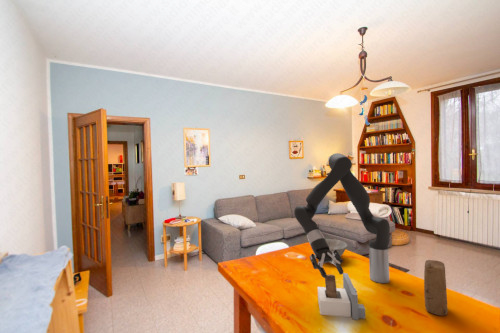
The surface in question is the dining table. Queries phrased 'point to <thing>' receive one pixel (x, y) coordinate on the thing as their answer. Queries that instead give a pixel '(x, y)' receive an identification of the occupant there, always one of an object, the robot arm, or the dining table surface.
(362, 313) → the backstop
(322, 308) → the socket
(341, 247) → the ceramic bowl
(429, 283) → the block
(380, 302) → the dining table surface
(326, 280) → the dowel
